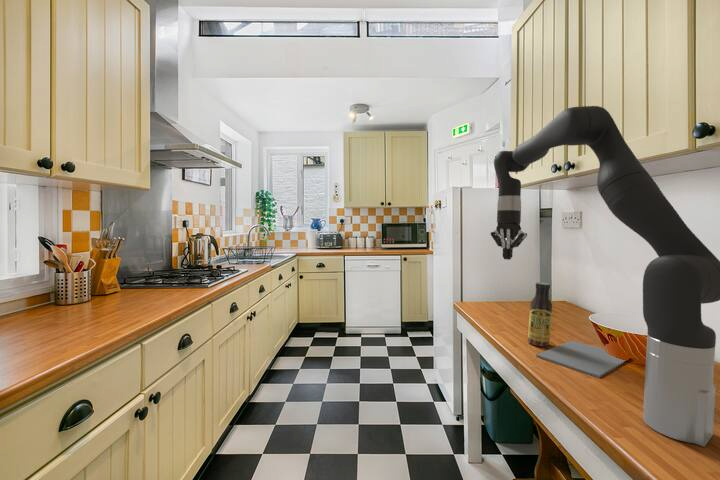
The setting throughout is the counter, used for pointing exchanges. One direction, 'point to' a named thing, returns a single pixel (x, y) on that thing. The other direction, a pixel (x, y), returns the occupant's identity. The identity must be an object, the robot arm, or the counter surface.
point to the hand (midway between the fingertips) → (507, 259)
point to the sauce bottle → (540, 316)
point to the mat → (582, 358)
